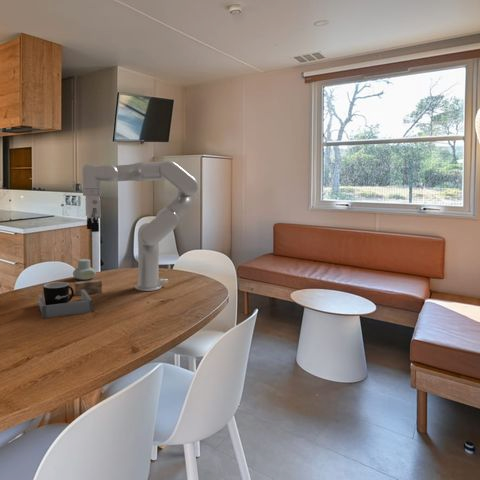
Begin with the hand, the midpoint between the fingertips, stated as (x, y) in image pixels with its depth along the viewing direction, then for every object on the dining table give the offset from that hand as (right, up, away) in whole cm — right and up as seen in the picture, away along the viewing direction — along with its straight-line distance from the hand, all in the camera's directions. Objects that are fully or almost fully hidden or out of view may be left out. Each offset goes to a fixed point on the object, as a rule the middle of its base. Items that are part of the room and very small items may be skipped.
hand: (92, 230), depth 171 cm
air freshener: (-14, -25, +24) cm, 37 cm away
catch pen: (-3, -32, -20) cm, 38 cm away
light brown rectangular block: (-2, -29, 0) cm, 29 cm away
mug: (-4, -32, -22) cm, 39 cm away
